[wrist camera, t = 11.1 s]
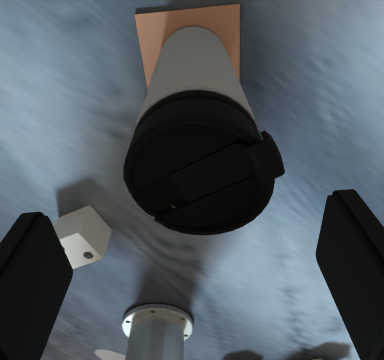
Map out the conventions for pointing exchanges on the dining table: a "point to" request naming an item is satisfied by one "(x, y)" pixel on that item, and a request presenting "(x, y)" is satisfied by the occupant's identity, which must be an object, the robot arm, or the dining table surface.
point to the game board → (173, 20)
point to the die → (83, 236)
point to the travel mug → (199, 142)
